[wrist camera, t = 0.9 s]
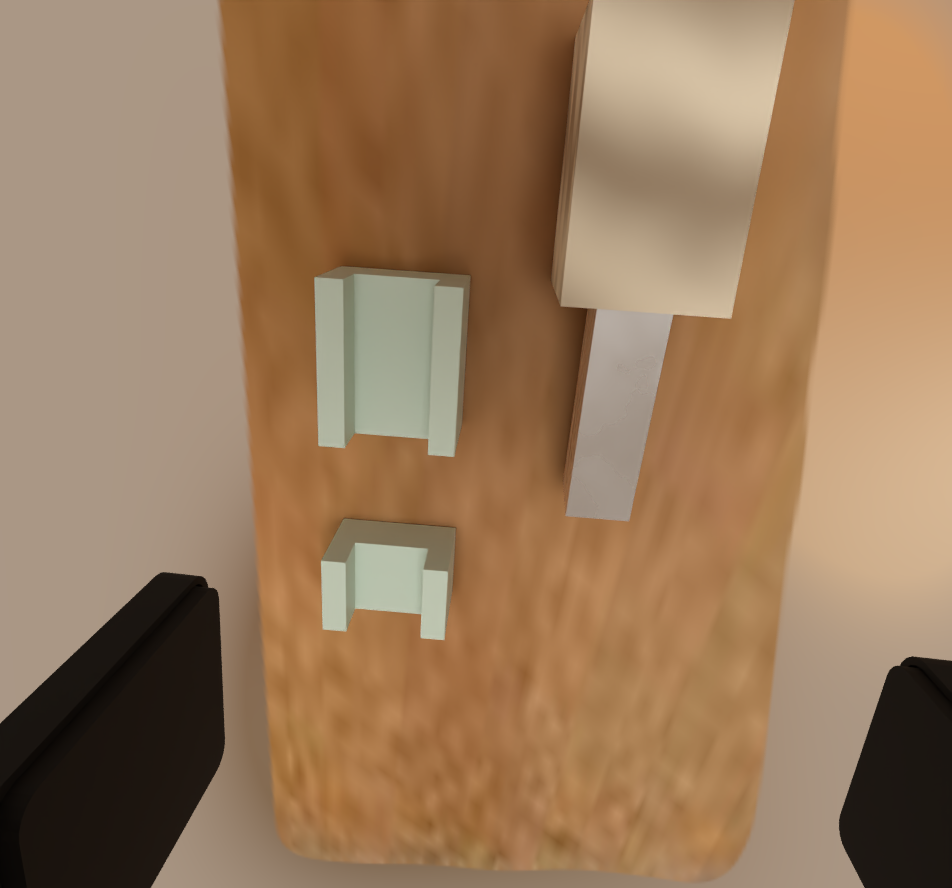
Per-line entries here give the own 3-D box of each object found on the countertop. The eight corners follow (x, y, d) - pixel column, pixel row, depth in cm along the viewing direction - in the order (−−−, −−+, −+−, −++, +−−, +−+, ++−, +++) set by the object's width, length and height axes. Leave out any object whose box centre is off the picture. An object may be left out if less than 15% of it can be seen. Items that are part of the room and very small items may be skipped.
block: (575, 37, 28) (595, -15, 21) (724, 46, 28) (795, -4, 21) (550, 281, 31) (560, 306, 24) (682, 290, 31) (731, 318, 24)
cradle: (341, 266, 32) (314, 277, 27) (470, 275, 31) (463, 288, 27) (344, 580, 38) (322, 629, 34) (452, 590, 38) (444, 640, 33)
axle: (611, 141, 26) (620, 151, 23) (688, 146, 26) (706, 157, 23) (562, 480, 34) (565, 516, 32) (621, 485, 34) (628, 521, 31)
